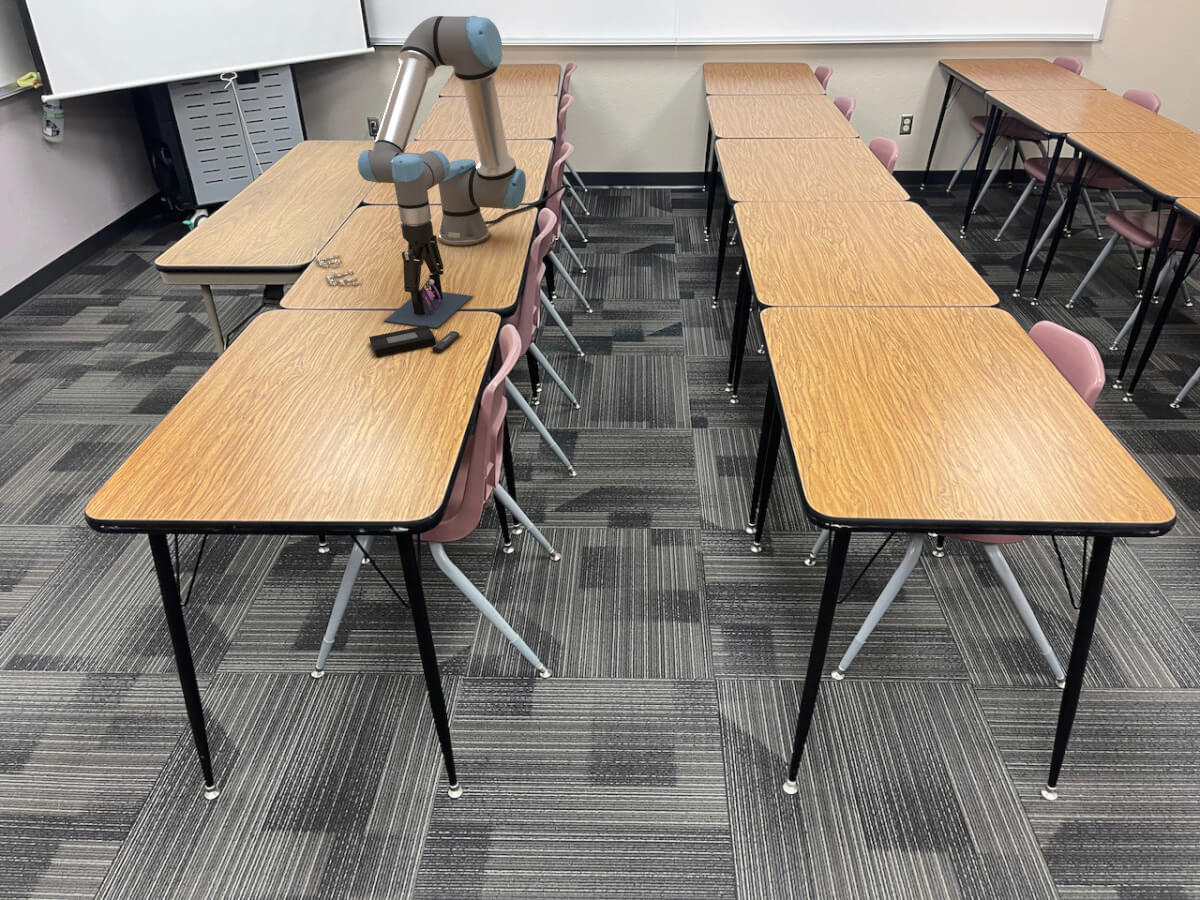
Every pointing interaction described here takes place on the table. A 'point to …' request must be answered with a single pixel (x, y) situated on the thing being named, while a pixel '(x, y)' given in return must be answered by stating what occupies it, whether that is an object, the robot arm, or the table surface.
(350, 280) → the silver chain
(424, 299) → the game card
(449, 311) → the mat
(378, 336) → the vhs tape
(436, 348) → the usb stick
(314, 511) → the table surface
